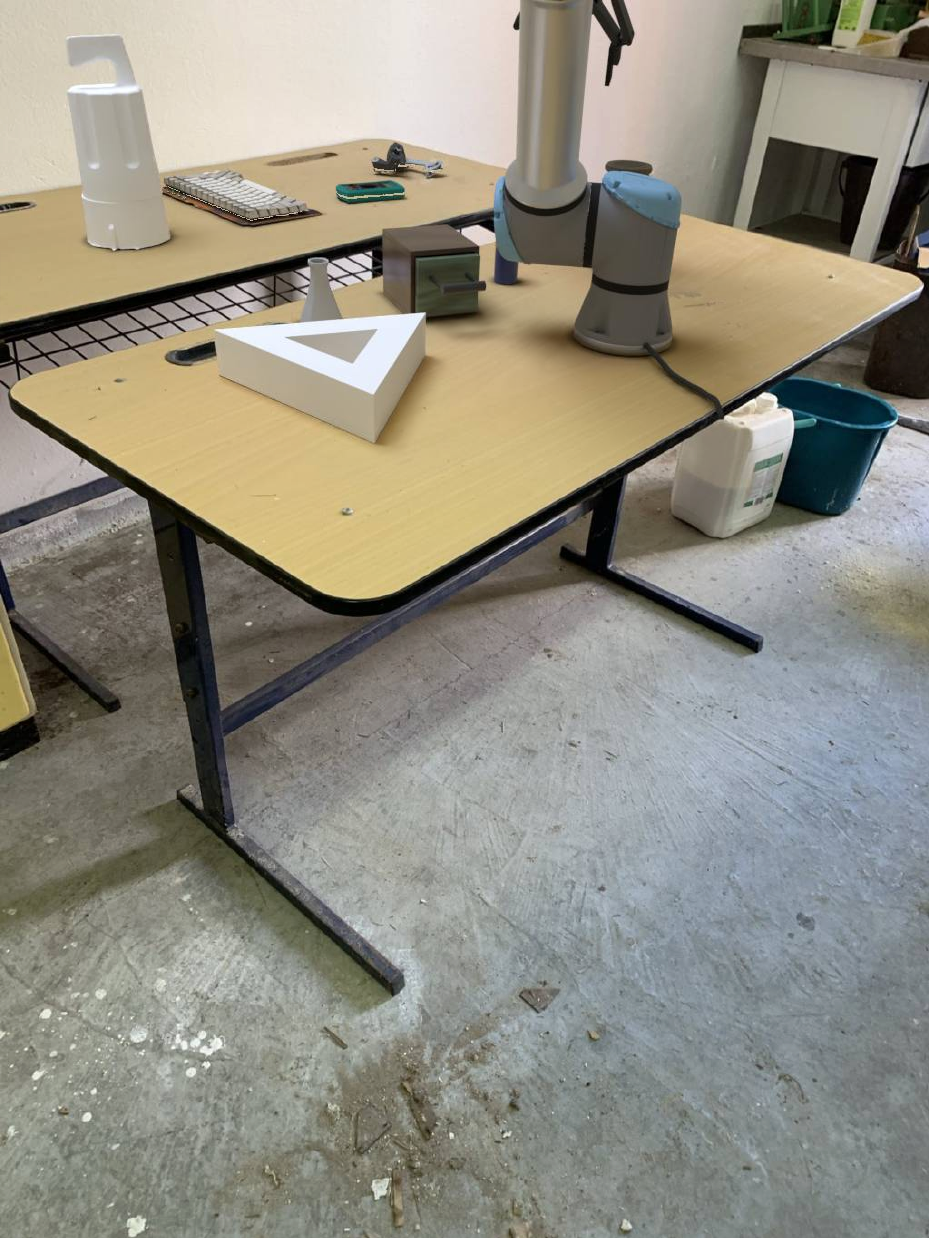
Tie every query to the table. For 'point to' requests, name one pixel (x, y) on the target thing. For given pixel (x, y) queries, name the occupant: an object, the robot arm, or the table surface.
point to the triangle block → (329, 366)
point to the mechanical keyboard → (235, 197)
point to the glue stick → (504, 270)
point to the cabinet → (401, 258)
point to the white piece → (115, 151)
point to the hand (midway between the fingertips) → (569, 76)
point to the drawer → (447, 283)
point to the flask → (319, 294)
